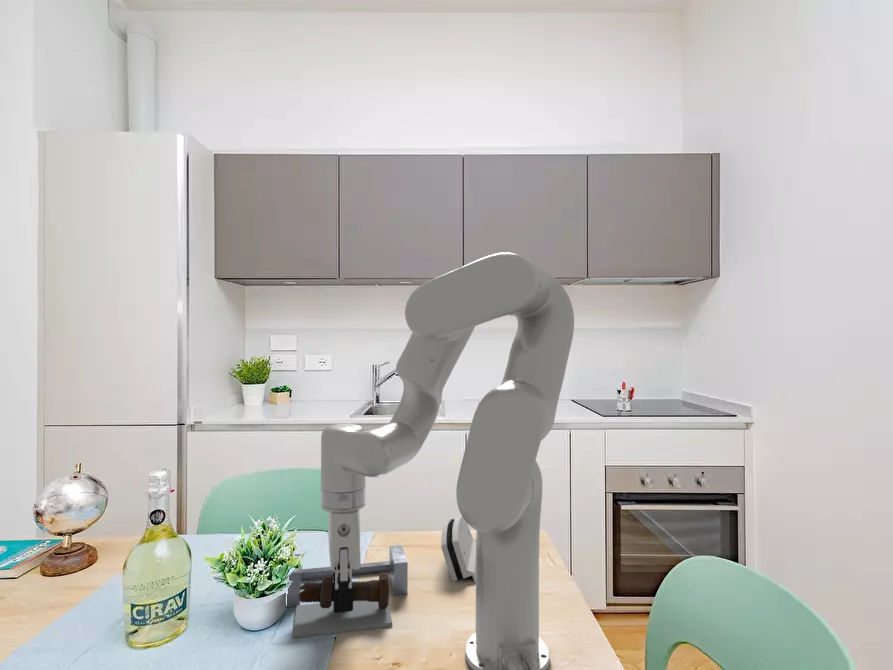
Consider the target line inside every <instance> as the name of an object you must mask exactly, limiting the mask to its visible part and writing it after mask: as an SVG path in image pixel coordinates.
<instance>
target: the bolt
mask: <svg viewBox="0 0 893 670" xmlns="http://www.w3.org/2000/svg"><path fill="white" fill-rule="evenodd" d="M352 586H353V602H354V601H355V602H356V600H357V602H358V600H359V602H360V600H361V602H362V600H363V601H364V600H365V601H369V602H378V606H379V610H380V609H386V608H387V606H388V604H389V600H390V574H388V572H383V573H379V576H378V579H370V580H365V581H364V580H361V581H360V580H359V581H358V580H356V581H354V580H352ZM334 588H335V582H333V577H331V576H324V577H323V578H322V579H321V582H320V581H314V582H305V583H303V584H302V586H300V590H302V592H300V593H299V601H300V604H301V603H305V604H306V603H307V604H308V603H309V604H315V603H320V607H321V608H330V607H331V605H332V602H334Z"/></svg>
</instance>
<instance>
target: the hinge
mask: <svg viewBox="0 0 893 670" xmlns="http://www.w3.org/2000/svg"><path fill="white" fill-rule="evenodd" d="M440 541H441V543H440V544H441V550H442V554H443V557H444V560H445V564H446V567H447V571H448V574H449V577H450V579H451V582H457V581H458V579H459V578H460V577H461V578H463V579H466V578H469V577H471V576H472V579H473V581H474V583H476V538H474V537H473V534H472V532H471V530H470V527H469V524H468V523H467V522H466V521H465V520H464V518H463V517H462V516H457V517H455V518H450V519H449V520H448V521H446V522H445V523H444V524H443V526H442V531H441V539H440Z"/></svg>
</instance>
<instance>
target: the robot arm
mask: <svg viewBox="0 0 893 670" xmlns="http://www.w3.org/2000/svg"><path fill="white" fill-rule="evenodd" d="M404 309H405V311H404V318H405V322H406V325H407V326H408V328H409V329H410V331H411V332H412V333H411V335H410V337H409V338H408V341H407V343H406V345H405V346H404V348H403V351H402V353H401V354H400V356H399V358H398V361H397V362H396V366H395V371H396V373H397V376H398V377H399V378H400V379H401V381H402V383H403V392H402V396H401V398H400V402H399V404H398V405H397V408H396V410H395V412H394V414H393V416H392V417H391V419H390V421H389V422H388V424H384V425H381V426H379V427H376V428H372V429H368V430H365V429H364V427H363V426H361V425H359V424H356V423H355V424H354V423H337V424H332V425H328V426H326V427H324V428H323V430H322V432H321V438H320V444H321V445H320V508H321V510H323V511H325V512H327V523H328V524H327V527H328V528H327V529H328V530H327V531H328V532H327V533H328V551H329V552H328V553H329V561H330V567H331V571H333V577H332V578H333V582H335V588H334V609H333V610H334V613H340V612H349V611H352V610H353V586H352V582H353V576H352V568H353V570H356V569H357V571H358V570H359V569H360V568H361V567H360V564H361V515H360V514H361V513H360V510H361V509H363V508H364V507H365V506H366V478H367V477H369V478H379V477H383V476H385V475H387V474H389V473H390V472H393V471H395V470H396V469H398V468H400V467H402V466H404V465H406V464H408V463H409V462H411V461H412V460H413V459H414V458H415V457H416V456H417V455H418V453H419V452H420V450H421V449H422V447H423V445H424V443H425V441H426V440H427V438H428V436H429V434H430V432H431V430H432V428H433V426H434V424H435V422H436V419H437V416H438V414H439V410H440V407H441V401H442V399H443V398H442V397H443V391H444V388H445V386H446V383H447V382H448V380H449V378H450V377H451V374H452V372H453V370H454V368H455V366H456V365H457V363H458V361H459V358H460V357H461V355H462V353H463V351H464V350H465V348H466V345H467V344H468V342H469V340H470V337H471V336H472V334H473V332H474V330H475V328H476V326H479V325H482V324H485V323H487V322H490V321H493V320H497V319H499V318H502V317H506V316H512V317H513V316H514V317H515V318H516V320H517V329H516V332H515V336H514V338H513V340H512V343H511V345H510V346H511V347H510V351H509V353H508V354H509V355H508V360H507V363H506V366H505V367H506V368H505V371H504V375H503V378H502V380H501V383H500V385H499V386H496V387H494V388H492V389H491V390H489V391H488V392H487V393H486V394H485V395H484V396H483V397H482V398H481V400H480V402H479V403H478V405H477V407H476V408H475V412H474V415H473V417H472V420H471V424H470V428H469V432H468V435H467V436H468V437H467V440H466V444H465V448H464V453H463V456H462V460H461V464H460V468H459V473H458V478H457V482H456V491H455V493H456V494H455V496H456V497H455V498H456V503H457V508H458V510H459V513H460V515H461V517H463V518H464V520H465V521H466V522H467V524H468V526H470V527H471V528H473V529H474V530H475V531H476V533H475V539H476V582H475V633H474V634H472V635H471V636H470V637H469V638H468V640H467V641H466V644H465V647H464V648H465V649H464V650H465V651H464V652H465V653H464V654H465V659H466V662H467V664H468V665H469V667H470V668H471V669H472V670H547V669H548V668H549V664H550V651H549V648H548V646H547V644H546V643H545V642H544V641H543V639H541V637H540V628H539V627H540V530H541V516H542V515H541V513H542V512H541V511H542V502H543V501H542V500H543V477H542V476H543V475H542V471H541V469H540V466H539V464H538V462H537V458H538V456H537V455H538V452H539V450H540V446H541V443H542V441H543V440H544V439H545V438H546V437H547V436H548V434H550V432H551V430H552V429H553V426H554V425H555V418H556V413H557V407H558V404H559V400H560V395H561V391H562V387H563V382H564V379H565V377H566V376H565V375H566V370H567V365H568V360H569V356H570V351H571V347H572V343H573V338H574V332H575V331H574V329H575V313H574V308H573V305H572V301H571V299H570V296H569V294H568V293H567V291H566V289H565V288H564V286H563V285H562V284H561V283H560V282H559V280H557V278H556V277H555V276H553V274H551V273H550V272H549V271H548V270H546V269H545V268H543V267H542V266H540V265H539V264H538V263H536V262H534V261H532V260H531V259H528V258H526V257H525V256H523V255H520V254H517V253H515V252H508V251H507V252H506V251H505V252H498V253H493V254H491V255H487V256H484V257H482V258H479V259H477V260H475V261H472V262H470V263H468V264H466V265H463V266H461V267H459V268H456V269H454V270H451V271H449V272H447V273H444V274H442V275H439V276H437V277H435V278H432V279H430V280H428V281H426V282H424V283H422V284H420V285H419V286H418V287H417V288H416V289H414V290H413V291H412V293H411V294H410V295H409V297H408V299H407V301H406V305H405V308H404Z"/></svg>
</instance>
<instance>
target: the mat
mask: <svg viewBox="0 0 893 670" xmlns="http://www.w3.org/2000/svg"><path fill="white" fill-rule="evenodd" d="M295 607H296V608H295V617H294V624H293V629H292V639H296V638H304V637H305V638H306V637H313V636H315V637H316V636H320V635H321V636H322V635H329V634H338V633H339V634H340V633H347V632H354V631H362V630H363V631H364V630H371V629H380V628H388V627H393V619H392V618H393V617H392V615H391V610H390V605H389V603H388V606H387V608H386V609H380V610H379V606H378V602H369V601H365V600H364V601H363V600H362V602H361V600H360V602H359V600H358V602H357V600H356V602H355V601H354V602H353V610H352V611H349V612H340V613H334V610H333V609H334V602H333V601H332V605H331V607H330V608H321V607H320V603H319V602H318V603H317V602H316V603H315V602H314V603H309V604H308V603H307V604H306V603H305V604H300V605H297V606H295Z"/></svg>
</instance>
